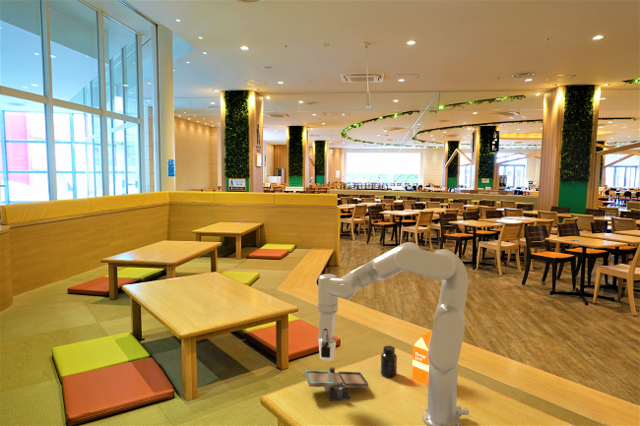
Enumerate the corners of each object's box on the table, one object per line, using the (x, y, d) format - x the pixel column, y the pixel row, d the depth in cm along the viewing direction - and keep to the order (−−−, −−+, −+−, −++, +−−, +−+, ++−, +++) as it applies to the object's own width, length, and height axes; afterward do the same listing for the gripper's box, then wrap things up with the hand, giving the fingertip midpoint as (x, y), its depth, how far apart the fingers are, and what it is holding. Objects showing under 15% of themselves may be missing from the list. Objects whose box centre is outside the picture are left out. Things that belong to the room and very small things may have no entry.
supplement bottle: (378, 371, 170) (378, 345, 169) (391, 369, 172) (392, 343, 171) (385, 379, 163) (385, 351, 162) (399, 377, 165) (400, 349, 164)
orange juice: (412, 378, 163) (413, 333, 162) (423, 372, 169) (424, 328, 168) (428, 386, 158) (429, 338, 156) (439, 378, 164) (440, 333, 162)
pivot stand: (340, 380, 162) (340, 365, 161) (350, 399, 147) (351, 383, 147) (321, 382, 160) (321, 367, 160) (330, 401, 146) (330, 385, 145)
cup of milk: (339, 356, 148) (339, 338, 147) (329, 363, 142) (330, 344, 142) (324, 352, 152) (324, 334, 151) (314, 358, 146) (314, 340, 146)
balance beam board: (359, 375, 161) (360, 372, 161) (368, 388, 151) (368, 384, 151) (304, 374, 156) (304, 370, 156) (308, 386, 146) (309, 382, 146)
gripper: (321, 299, 155) (321, 342, 156) (313, 313, 138) (313, 362, 139) (340, 301, 154) (339, 344, 155) (334, 315, 136) (333, 364, 138)
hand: (327, 352), depth 147 cm, fingers closed on cup of milk, 6 cm apart
